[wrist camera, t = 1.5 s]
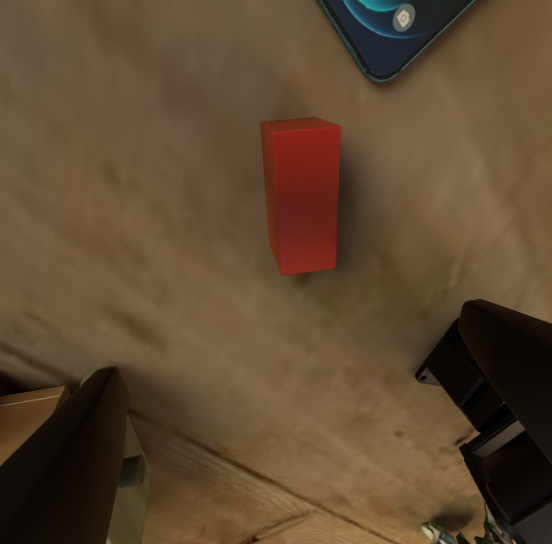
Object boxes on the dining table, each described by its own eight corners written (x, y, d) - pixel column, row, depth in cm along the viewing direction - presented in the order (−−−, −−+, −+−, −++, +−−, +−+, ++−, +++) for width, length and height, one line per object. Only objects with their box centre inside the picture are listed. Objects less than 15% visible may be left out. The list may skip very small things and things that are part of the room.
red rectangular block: (260, 121, 16) (272, 132, 13) (316, 116, 16) (341, 125, 13) (269, 245, 19) (281, 276, 16) (316, 239, 20) (336, 268, 17)
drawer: (126, 362, 21) (95, 472, 15) (167, 466, 27) (156, 575, 21) (-103, 400, 19) (-237, 539, 13) (-6, 502, 25) (-71, 630, 19)
